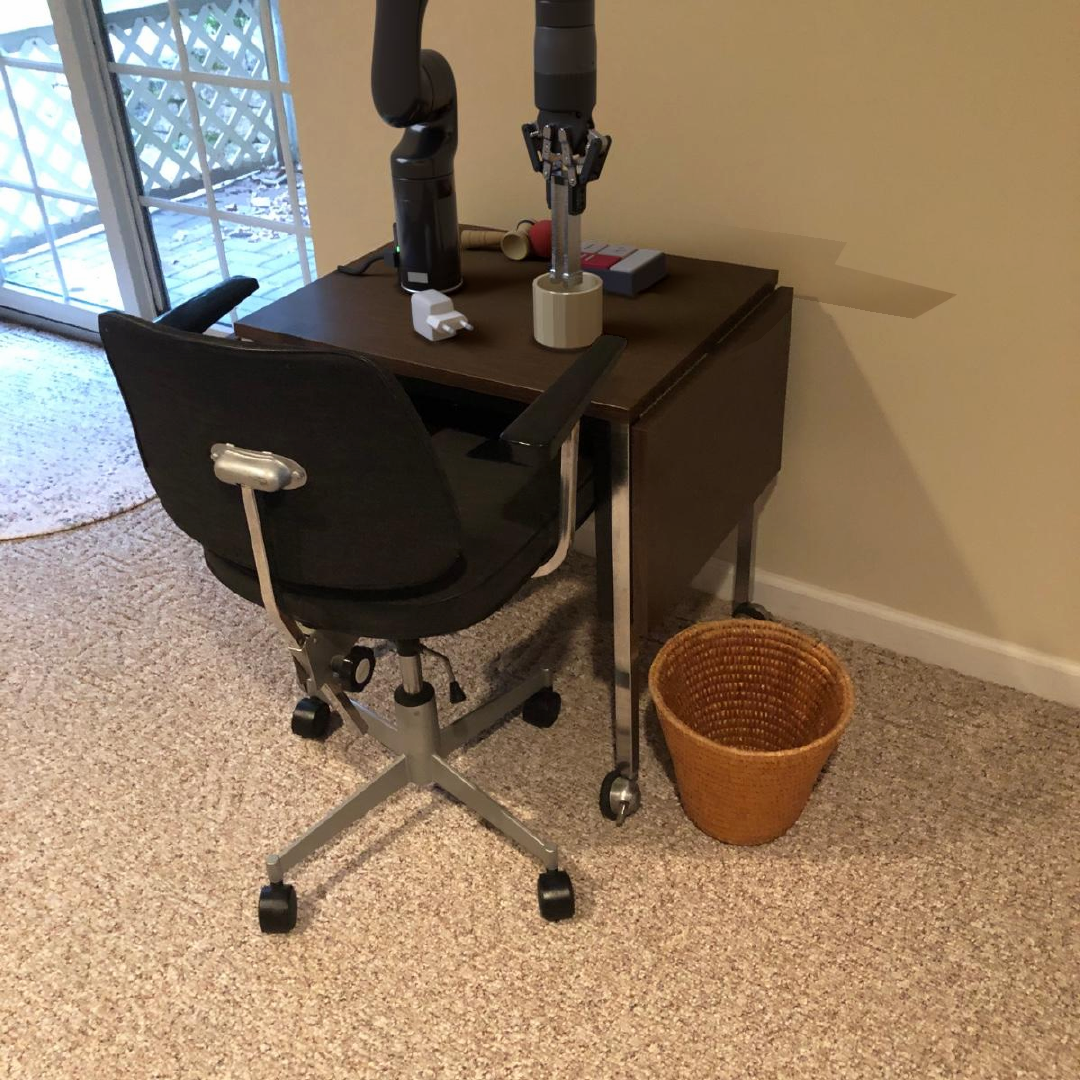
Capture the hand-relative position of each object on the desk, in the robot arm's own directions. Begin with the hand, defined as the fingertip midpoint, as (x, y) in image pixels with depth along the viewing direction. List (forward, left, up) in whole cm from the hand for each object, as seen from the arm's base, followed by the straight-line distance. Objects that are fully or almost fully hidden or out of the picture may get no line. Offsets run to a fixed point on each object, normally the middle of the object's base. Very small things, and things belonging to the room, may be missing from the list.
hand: (565, 210), depth 137 cm
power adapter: (-12, -12, -18) cm, 24 cm away
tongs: (0, 0, -10) cm, 10 cm away
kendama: (-32, +20, -18) cm, 42 cm away
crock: (0, 0, -17) cm, 17 cm away
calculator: (-12, +21, -18) cm, 30 cm away
